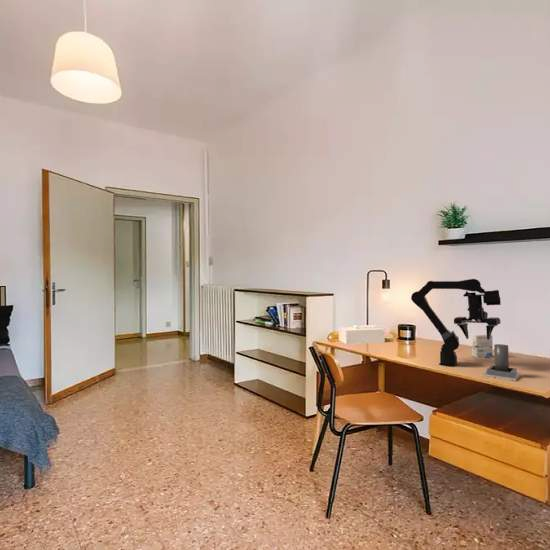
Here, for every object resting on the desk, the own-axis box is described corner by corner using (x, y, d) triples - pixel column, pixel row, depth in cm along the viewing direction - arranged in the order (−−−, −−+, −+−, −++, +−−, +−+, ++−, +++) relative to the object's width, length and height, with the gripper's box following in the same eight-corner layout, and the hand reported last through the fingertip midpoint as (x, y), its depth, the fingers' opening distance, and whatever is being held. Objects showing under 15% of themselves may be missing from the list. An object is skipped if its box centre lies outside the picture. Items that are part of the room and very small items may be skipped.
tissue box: (338, 340, 257) (338, 323, 257) (375, 339, 261) (374, 322, 261) (346, 344, 243) (346, 326, 243) (384, 342, 247) (384, 325, 247)
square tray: (483, 376, 168) (482, 369, 168) (489, 371, 176) (489, 364, 176) (515, 381, 160) (515, 373, 160) (520, 375, 168) (520, 368, 168)
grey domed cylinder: (492, 372, 169) (491, 344, 169) (500, 371, 172) (499, 343, 172) (503, 375, 165) (502, 346, 165) (511, 374, 167) (511, 345, 167)
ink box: (487, 355, 207) (487, 333, 207) (492, 358, 202) (492, 335, 202) (471, 356, 207) (471, 333, 206) (476, 358, 202) (476, 335, 201)
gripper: (503, 304, 182) (506, 338, 181) (461, 304, 195) (464, 335, 195) (494, 306, 174) (497, 341, 174) (452, 306, 188) (454, 339, 188)
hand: (477, 339), depth 183 cm, fingers open, 9 cm apart
